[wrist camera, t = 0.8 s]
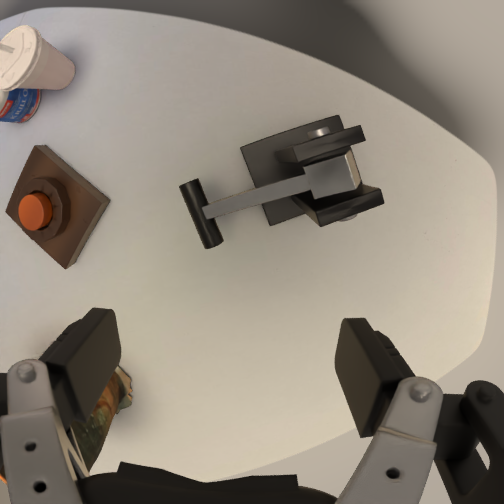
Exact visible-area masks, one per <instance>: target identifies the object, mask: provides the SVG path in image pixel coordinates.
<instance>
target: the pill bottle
mask: <svg viewBox="0 0 504 504" xmlns="http://www.w3.org/2000/svg"><path fill="white" fill-rule="evenodd" d="M40 97H41V93H40V89H28V88H15V89H14V90H12V91H6V92H5V91H1V90H0V121H2V122H14V123H22V122H25V121H27V120H28V119H30V118H31V117H32V115H33V114H34V113H35V111H36V110H37V108H38V105H39V102H40Z"/></svg>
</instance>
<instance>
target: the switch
mask: <svg viewBox="0 0 504 504" xmlns="http://www.w3.org/2000/svg"><path fill="white" fill-rule="evenodd" d="M303 168H304V171H305V173H302V174H298V175H295V176H292V177H288V178H285V179H282V180H279V181H275V182H272V183H269V184H266V185H263V186H260V187H256V188H253V189H250V190H247V191H244V192H241V193H238V194H235V195H232V196H229V197H226V198H223V199H220V200H217V201H214V202H211V203H208V201H207V198H206V196H205V193H204V191H203V188H202V186H201V183H200V181H199V179H198V178H197V179H194V180H192V181H189V182H187V183H185V184H182V185H180V186H179V188H180V191H181V193H182V196H183V198H184V200H185V203H186V205H187V208H188V210H189V212H190V215H191V217H192V220H193V222H194V224H195V227H196V229H197V231H198V234H199V236H200V238H201V241H202V243H203V245H204V248H205V249H210V248H213V247H215V246H218V245H219V244H221V243H222V242H223V241H224V240H223V237H222V235H221V232H220V230H219V228H218V225H217V223H216V220H215V217H218V216H222V215H225V214H228V213H232V212H235V211H238V210H242V209H245V208H249V207H252V206H255V205H259V204H262V203H266V202H269V201H273V200H276V199H280V198H283V197H287V196H291V195H294V194H298V193H301V192H305V191H309V190H311V191H312V194H313V197H314V199H315V200H316V199H320V198H324V197H328V196H332V195H336V194H340V193H344V192H348V191H352V190H356V189H357V187H358V185H359V183H360V181H361V180H360V176H359V173H358V170H357V167H356V164H355V161H354V158H353V155H352V152H351V150H348V151H345V152H341V153H338V154H334V155H331V156H327V157H324V158H321V159H317V160H314V161H312V162H310V163H309V164H307V165H305V166H304V167H303Z"/></svg>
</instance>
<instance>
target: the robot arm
mask: <svg viewBox="0 0 504 504" xmlns="http://www.w3.org/2000/svg"><path fill="white" fill-rule="evenodd" d="M120 358H121V344H120V339H119V333H118V328H117V322H116V316H115V313H114V311H113V310H112V309H103V308H92V309H91V310H90V311H89V312H88V313H87V314H86V315H85V316H84V317H83V318H82V319H79V320H78V321H76V322H74V323H72V324H70V325H69V326H68V327H67V328H66V329H65V330H64V331H63V332H62V334H61V335H60V336H59V337H58V338H57V340H56V341H54V342H53V343H52V344H51V346H50V347H49V348H48V349H47V350H46V351H45V352H44V353H43V355H42V356H41V357H40V358H39V359H38V360H37V359H26V360H22V361H19V362H17V363H16V364H14V365H13V366H12V367H11V368H10V369H9V370H8V373H0V470H1V468H2V466H3V464H4V468H5V475H6V481H7V486H8V492H9V496H10V501H11V504H419V501H420V499H421V496H422V493H423V490H424V487H425V484H426V481H427V478H428V475H429V472H430V469H431V465H432V462H433V460H434V462H435V464H436V466H437V468H438V471H439V473H440V476H441V478H442V480H443V483H444V485H445V488H446V490H447V492H448V495H449V497H450V500H451V503H452V504H504V393H503V392H502V391H501V390H500V389H499V388H498V387H497V386H496V385H494V384H492V383H490V382H487V381H481V380H478V381H473V382H471V383H470V384H469V385H468V386H467V388H466V390H465V392H464V394H463V395H462V394H443V392H442V390H441V388H440V387H439V386H438V385H437V384H436V383H435V382H433V381H432V380H429V379H427V378H423V377H416V376H415V374H414V373H413V372H412V370H411V369H410V367H409V366H408V364H407V363H406V362H405V360H404V359H403V357H402V356H401V355H400V353H399V352H398V350H397V349H396V348H395V346H394V345H393V343H392V342H391V340H390V339H389V338H388V337H387V336H385V335H384V334H382V333H381V332H379V331H374V330H373V329H372V327H371V326H370V324H369V323H368V321H367V320H366V319H365V318H344V319H343V321H342V323H341V328H340V333H339V339H338V344H337V349H336V354H335V370H336V374H337V376H338V379H339V382H340V384H341V387H342V389H343V392H344V395H345V397H346V400H347V403H348V405H349V408H350V411H351V413H352V416H353V419H354V421H355V424H356V427H357V429H358V432H359V435H360V438H364V437H371V436H373V439H372V441H371V443H370V445H369V447H368V448H367V450H366V452H365V454H364V456H363V458H362V460H361V461H360V463H359V465H358V466H357V468H356V470H355V472H354V473H353V475H352V477H351V478H350V480H349V482H348V483H347V485H346V487H345V488H344V490H343V491H342V493H341V494H340V496H339V498H336V497H334V496H332V495H330V494H328V493H325V492H323V491H320V490H316V489H312V488H308V487H303V486H298V481H297V475H296V474H295V475H274V476H273V475H270V476H248V477H242V478H237V479H230V480H224V481H217V482H209V483H205V482H199V481H196V480H193V479H190V478H186V477H183V476H180V475H177V474H174V473H171V472H169V471H166V470H163V469H159V468H153V467H147V466H141V465H136V464H130V463H125V462H120V465H119V468H118V470H117V472H111V473H102V474H96V475H92V476H90V475H89V473H88V470H87V468H86V466H85V463H84V460H83V458H82V455H81V452H80V450H79V447H78V444H77V441H76V438H75V435H74V432H73V430H72V428H71V424H72V422H73V420H75V421H78V422H82V423H87V422H88V420H89V418H90V416H91V414H92V412H93V410H94V408H95V406H96V404H97V402H98V401H99V399H100V397H101V395H102V393H103V391H104V389H105V388H106V386H107V384H108V382H109V380H110V378H111V377H112V375H113V373H114V371H115V369H116V368H117V366H118V364H119V362H120ZM479 442H481V444H482V445H483V447H484V449H485V450H486V452H487V454H488V456H489V459H490V466H489V469H488V470H487V468H486V466H485V464H484V463H483V461H482V459H481V457H480V455H479V453H478V452H477V450H476V446H477V445H478V444H479Z"/></svg>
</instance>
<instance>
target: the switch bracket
mask: <svg viewBox="0 0 504 504" xmlns="http://www.w3.org/2000/svg"><path fill="white" fill-rule="evenodd" d="M363 141H366V139H365V136H364V133H363V131H362V128H361V125H358V126H354V127H351V128H347V129H344V127H343V124H342V121H341V119H340V116H339V115H335V116H332V117H329V118H325V119H322V120H319V121H315V122H312V123H309V124H306V125H303V126H300V127H297V128H294V129H291V130H288V131H285V132H282V133H279V134H276V135H273V136H270V137H267V138H264V139H262V140H259V141H256V142H253V143H251V144H248V145H245V146H242V147H241V148H240V149H241V151H242V154H243V157H244V159H245V162H246V164H247V167H248V169H249V172H250V175H251V177H252V180H253V182H254V185H255V188H256V187H260V186H263V185H266V184H269V183H272V182H275V181H279V180H282V179H285V178H288V177H292V176H295V175H298V174H302V173H305V171H304V168H303V167H304V166H305V165H307V164H309V163H310V162H312V161H314V160H317V159H321V158H324V157H327V156H331V155H334V154H338V153H341V152H345V151H348V150H351V152H352V149H351V147H350V145H354V144H357V143H360V142H363ZM352 155H353V152H352ZM353 158H354V155H353ZM354 161H355V158H354ZM355 164H356V161H355ZM356 167H357V165H356ZM357 170H358V168H357ZM358 173H359V171H358ZM359 176H360V174H359ZM360 180H361V177H360ZM382 204H384V199H383V196H382V192H381V189H379V188H375V187H371V186H367V185H363V184H362V180H361V181H360V183H359V185H358V187H357V189H356V190H352V191H348V192H344V193H340V194H336V195H332V196H328V197H324V198H320V199H316V200H315V199H314V197H313V194H312V191H311V190H309V191H305V192H301V193H298V194H294V195H291V196H287V197H283V198H280V199H276V200H273V201H269V202H266V203H262V206H263V209H264V211H265V214H266V217H267V219H268V222H269V225H270V226H273V225H275V224H278V223H281V222H284V221H286V220H289V219H292V218H294V217H297V216H300V215H303V214H305V213H306V214H307V215H308V216H309V217H310V218H311V219H312V220H313V221H314V222H315V223H317V224H318V225H319V226H320V227H323V226H325V225H328V224H331V223H333V222H336V221H347V220H350V219H353V218H354V217H356V216H357V214H358V213H361V212H363V211H366V210H369V209H371V208H374V207H377V206H380V205H382Z"/></svg>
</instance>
